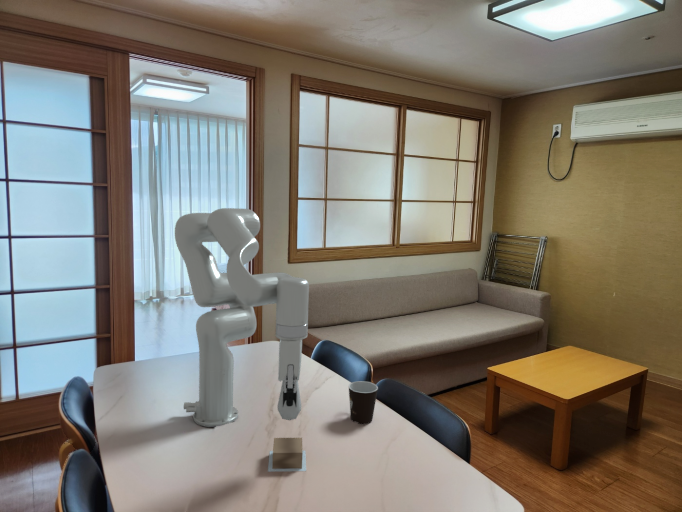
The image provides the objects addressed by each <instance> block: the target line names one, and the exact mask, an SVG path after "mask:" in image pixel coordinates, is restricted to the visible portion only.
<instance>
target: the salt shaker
mask: <svg viewBox="0 0 682 512" xmlns="http://www.w3.org/2000/svg"><path fill="white" fill-rule="evenodd" d="M293 371H294V365H293ZM284 379H285V378H284ZM286 379H288V377H286ZM293 379H295V377H293ZM281 382H282V383H281V388H280V392H279V396H278V402H277V412H278V414H279V415H280V417H281V419H282V420H285V421H291V420H292V421H293V420H297V417H298V416H299V414H300V413H301V411H302V401H301V393H300V387H299V380H298V381H297V380H296V391H297V402H296V406H295V402H294V400H293V405H292V406H287V405H286V401H285V403H284V406H283V391H284V380H283V381H281ZM287 384H288V382H287ZM293 384H294V382H293ZM286 390H287V389H286ZM286 392H287V391H286ZM293 392H294V391H293Z"/></svg>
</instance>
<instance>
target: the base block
mask: <svg viewBox="0 0 682 512" xmlns="http://www.w3.org/2000/svg"><path fill="white" fill-rule="evenodd" d="M272 447H273V448H272V451H273V461H272V469H299V468H302V454H303V451H304V450H303V437H274V438H273V446H272Z"/></svg>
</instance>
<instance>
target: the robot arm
mask: <svg viewBox="0 0 682 512" xmlns="http://www.w3.org/2000/svg"><path fill="white" fill-rule="evenodd" d="M260 230H261V221H260V218H259V216H258V215H257V213H256V212H254V211H253V210H252V209H249V208H238V207H237V208H233V207H231V208H230V207H224V208H218V209H216V210H213V211H212V212H211V213H210V212H193V213H192V212H191V213H186V214H184V215H181V216H180V217H179V218H178V219H177V221H176V223H175V226H174V239H175V244H176V247H177V250H178V252H179V254H180V255H181V257H182V260H183V262H184V264H185V267H186V272H187V275H188V279H189V283H190V287H191V290H192V295H193V299H194V302H195V303H196V305H198V306H199V307H201V308H214V307H219V306H226V305H227V306H229V308H222V309H216V310H215V309H214V310H211V311H207V312H204V313H202V314H201V315H200V316H199V317H198V318H197V320H196V322H195V331H196V336H197V337H196V338H197V344H198V353H199V355H198V357H199V358H198V360H199V363H198V365H199V366H198V367H199V369H198V371H199V376H198V377H199V378H198V381H199V384H198V388H199V389H198V391H199V392H198V394H199V395H198V400H197V401H195V402H191V401H190V402H183V410H185V412H186V413H193V417H192V418H193V422H194V423H195V424H197V425H198V426H201V427H206V428H207V427H208V428H215V427H219V426H220V427H221V426H224V425H228V424H231V423H234V422H235V421H236V420H237V419H238V417H239V411H238V409H237V408H236V407H235V406H234V368H235V367H234V364H235V363H234V362H235V361H234V355H233V353H232V351H231V350H230V348H229V347H228V345H227V344H228V343H231V342H233V341H239V340H242V339H247V338H251V336H253V335H254V334H255V333H256V330H257V324H258V323H257V317H256V313H255V309H254V307H261V306H265V305H266V306H267V305H273V304H274V305H275V304H276V305H275V306H276V307H275V337H276V339H278V340H279V344H278V345H279V346H278V373H277V375H278V381H279V382H283V380H284V391H283V406H284V403H285V401H286V405H287V406H292V405H293V400H294V402H295V406H296V402H297V391H296V380H297V381H298V382H299V380H300V375H301V369H302V368H301V367H302V355H303V354H302V353H303V352H302V351H303V340H304V339H306V338H308V330H309V329H308V328H309V302H310V297H309V296H310V283H309V282H308V280H307V279H305V278H303V277H297V276H296V277H295V276H292V275H291V274H289V273H287V272H271V273H269V272H268V273H267V272H266V273H258V274H257V273H256V274H251V273H250V271H248V269H247V268H246V266H245V265H246V264H248V263H249V262H251V261H252V260H253V259H254V258H255V257H256V256H257V254H258V252H259V250H260V244H259V242H258V240H257V239H256V238H255V237H256V236H257V235H258V234H259V232H260ZM203 243H218V244H219V246H220V248H221V249H222V250H223V251H224V253H225V254H226V256H227V257H228V260H227V264H226V272H220V271H219V268H218V263H217V260H216V258H215V255H213V253H212V252H211V251H210V250H209V248H208V247H206V246H205V245H204V244H203ZM293 365H294V371H293ZM286 377H288V379H286ZM293 377H295V379H293ZM284 378H285V379H284ZM287 382H288V384H287ZM293 382H294V384H293ZM286 389H287V390H286ZM286 391H287V392H286ZM293 391H294V392H293Z"/></svg>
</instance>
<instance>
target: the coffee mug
mask: <svg viewBox="0 0 682 512" xmlns="http://www.w3.org/2000/svg"><path fill="white" fill-rule="evenodd" d="M378 390H379V387H378V385H377V384H375V383H373V382H371V381H363V380H362V381H361V380H359V381H352V382H351V383H349V384H348V398H349V412H350V413H349V414H350V421H351V422H354V423H357V424H358V425H368V424H371V423H372V422H373V418H374V413H375V407H376V401H377V395H378Z"/></svg>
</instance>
